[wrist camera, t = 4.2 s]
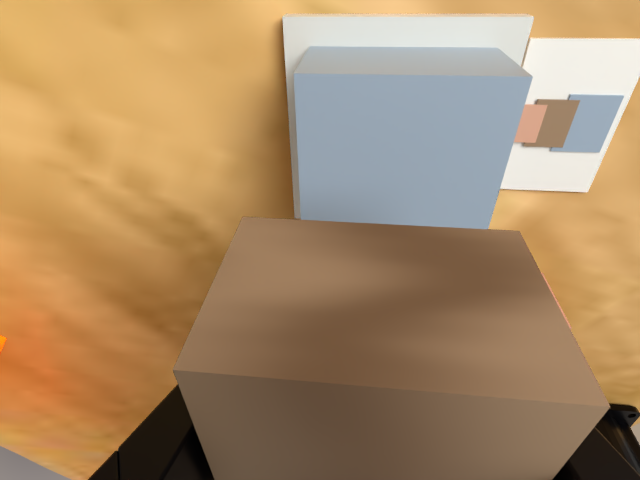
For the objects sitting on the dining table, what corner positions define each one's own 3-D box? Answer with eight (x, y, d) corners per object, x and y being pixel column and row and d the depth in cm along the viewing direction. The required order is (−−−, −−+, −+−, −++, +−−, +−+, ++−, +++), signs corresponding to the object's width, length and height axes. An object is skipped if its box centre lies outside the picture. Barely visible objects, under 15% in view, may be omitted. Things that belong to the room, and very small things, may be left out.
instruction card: (652, 38, 15) (659, 40, 14) (585, 190, 18) (589, 194, 18) (529, 37, 15) (532, 39, 15) (488, 186, 19) (490, 190, 19)
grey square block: (527, 13, 15) (583, 38, 11) (473, 217, 20) (498, 282, 16) (286, 13, 15) (258, 36, 12) (297, 209, 21) (280, 269, 17)
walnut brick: (519, 231, 8) (610, 406, 5) (460, 391, 12) (493, 552, 9) (242, 216, 9) (172, 370, 6) (266, 375, 13) (230, 522, 9)
